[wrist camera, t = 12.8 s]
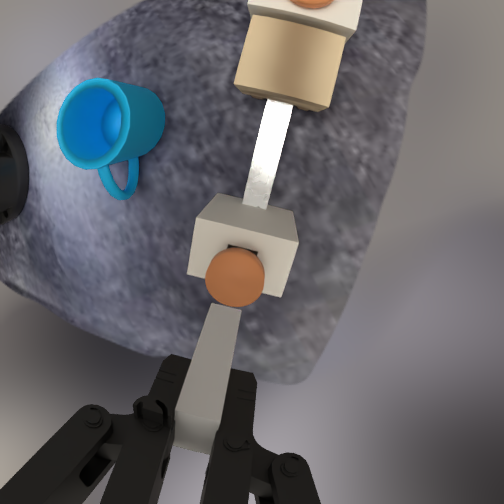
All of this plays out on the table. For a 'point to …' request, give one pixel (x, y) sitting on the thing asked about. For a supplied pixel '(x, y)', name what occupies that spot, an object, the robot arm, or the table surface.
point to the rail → (267, 153)
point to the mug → (110, 128)
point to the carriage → (289, 63)
